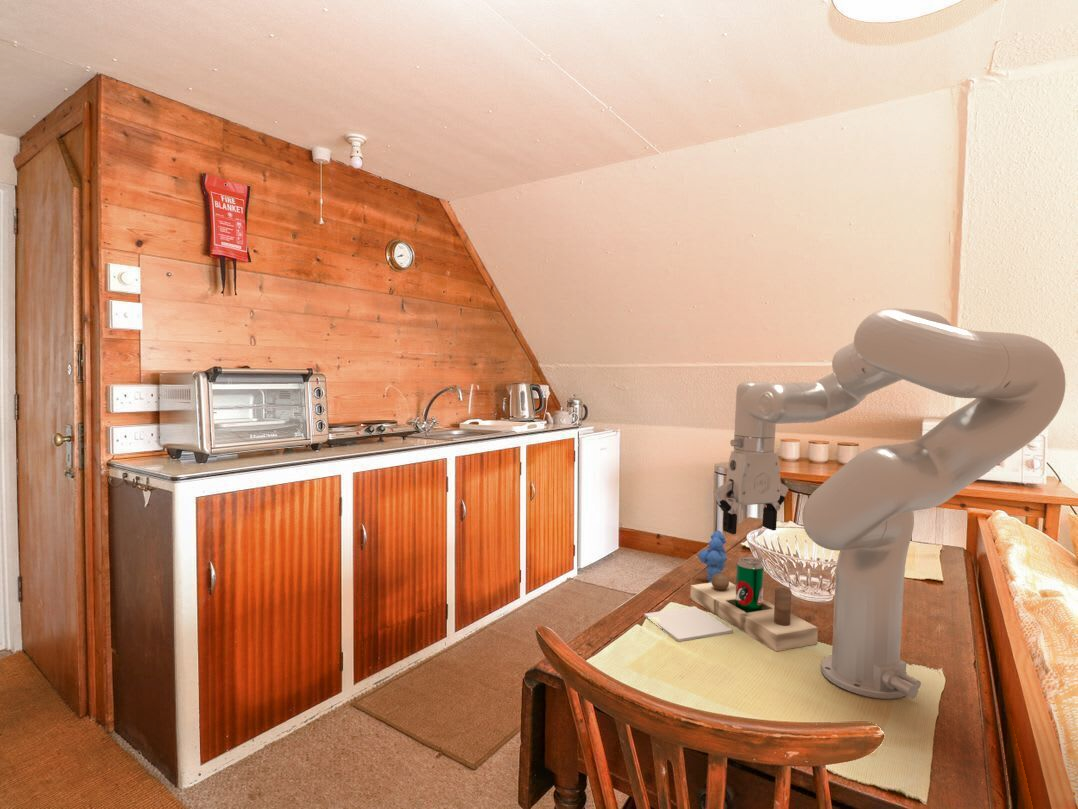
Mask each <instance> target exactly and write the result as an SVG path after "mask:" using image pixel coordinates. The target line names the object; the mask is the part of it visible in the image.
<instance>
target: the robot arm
mask: <svg viewBox="0 0 1078 809" xmlns="http://www.w3.org/2000/svg"><path fill="white" fill-rule="evenodd" d="M831 366H832V373H830V374H829V375H828V374H827V375H826V376H824V377H822V378H819V379H817V380H815V381H812V382H805V381H804V382H803V381H802V382H799V381H797V382H793V381H792V382H790V381H788V382H765V381H743V382H740V383H739V384H738V385H737V387H736V393H735V394H736V395H735V412H734V413H735V415H734V416H735V417H734V432H733V434H734V436H733V439H731V440H730V442H729V443H730V446H731V447H733V450H731V451H730V455H729V459H728V463H727V470H726V478H725V483H723V484H721V485H720V486H718V487H716V488H715V490H713V492H712V493H713V496H714V498H715V501H716V504H717V506H718V507H719V508H720V510H721V511H722V512H723V513H722V514H723V519H722V530H723V532H726V533H728V534H730V535H736V533H737V525H738V523H737V522H738V515H737V513H736V512H737V510H738V508H739V507H740V505H744V506H751V505H752V506H753V505H765V506H763V510H762V527H763V528H766V529H768V530H770V531H777V521H778V520H777V519H778V511H780V510H781V506H782V505H783V503H784V502H785V500H786V499H785V497H786V496H787V493H788V492H789V487H788V486H787V485H785V484H784V483H782V482H781V469H780V468H781V466H780V459H779V454H778V452H777V451H775V445H776V444H775V442H776V428H777V427H776V426H777V425H778V424H781V425H783V424H785V425H786V424H787V425H788V424H803V423H804V424H807V423H808V424H809V423H817V422H818V423H819V422H821V421H825V420H827V419H830V418H832V417H835V416H837V415H840V414H843V413H844V412H847V411H850V410H852V409H854V408H855V407H856V406H858V405H859V404H860V403H861V402H862V401H864V400H865V399H866V397H867V396H868V395H869V394H872V393H874V392H877V391H880V390H881V389H883V388H886V387H888V386H890V385H893V384H895V383H898V382H900V381H903V380H904V381H906V382H909V383H912V384H915V385H918V386H919V387H922V388H925V389H928V390H931V391H934V392H936V393H939V394H942V395H946V396H950V397H954V398H959V399H973V400H972V401H971V402H968V403H967V404H965V405H963V406H962V407H960V408H959V409H957V410H955V411H953V412H952V413H950V414H949V415H947V416H946V417H945V418H943V419H942V420H941V421H940V422H939V423H938V424H936V425H935V426H934V427H932V429H930V430H929V431H928V432H926V433H925V434H924V435H921V436H920V437H918V438H917V439H915V440H913V441H910V442H904V443H895V444H884V445H883V444H882V445H878V446H874V447H873V446H872V447H871V448H868V449H865V450H864V451H862V452H860V453H859V454H857V455H855V456H854V457H852V458H851V459H850V460H849V461H847V462H846V463H845V464H844V465H843V466H842V467H840V468H839V469H838V470H837V471H836V472H834V474H832V475H831V476H830V477H829V478H828V479H826V480H825V481H824V482H823V483H822V484H820V486H818V487H817V488H816V489H815V490H813V492H812V493H811V494H810V495H809V497H808V498H807V500H806V502H805V503H804V506H803V509H802V525H803V529H804V531H805V533H806V535H807V537H808V538H810V539H811V541H812V542H813V543H814V544H816V545H817V546H819V547H821V548H824V549H827V550H830V551H839V553H838V556H837V560H836V568H835V582H834V584H835V585H834V601H833V602H834V603H833V622H832V623H833V625H832V626H833V628H832V649H831V654H829V655H827V656H825V657H824V658H823V659H822V660H821V663H820V670H821V673H822V674H823V676H824V677H825V678H826V679H827V680H828V681H830V682H831V683H832V684H834V685H835V686H837V687H839V688H841V689H842V690H846V691H847V692H850V693H853V694H857V695H860V696H863V697H869V698H874V699H883V700H885V699H887V700H888V699H891V700H893V699H898V698H902V697H905V696H906V697H908V698H911V699H914V698H916V697H917V695H918V693H919V689H920V688H921V685H922V683H921V681H920V680H919V679H918V678H916V677H913V676H910V675H909V674H908V672H907V661H904V660H902V659H901V645H902V644H901V643H902V642H901V640H902V625H903V624H902V623H903V604H904V590H905V589H904V587H905V573H906V562H907V555H908V552H909V547H910V543H911V541H912V536H913V531H914V526H915V514H914V512H915V511H921V510H928V509H932V508H935V507H939V506H941V505H942V504H944V503H946V502H948V501H949V500H951V499H952V498H953V497H955V496H956V495H957V494H958V493H960V492H961V491H963V490H964V489H966V488H967V487H968V486H970V485H971V484H973V483H975V482H976V481H977V480H979V479H980V478H982V477H983V476H984V475H987V473H989V472H990V471H991V470H993V469H994V468H995V467H997V466H998V465H1000V463H1002V462H1004V461H1005V460H1007V459H1008V458H1009V457H1011V456H1013V455H1014V454H1015V453H1017V452H1018V451H1020V450H1021V449H1022V448H1024V447H1025V446H1027V445H1029V443H1031V442H1032V441H1033V440H1035V438H1037V437H1038V436H1039V435H1041V433H1042V432H1044V431H1045V430H1046V428H1047V427H1048V426H1050V424H1051V422H1052V421H1053V420H1054V419H1055V417H1056V416H1057V414H1058V412H1060V409H1061V406H1062V404H1063V401H1064V397H1065V392H1066V374H1065V370H1064V367H1063V364H1062V361H1061V359H1060V358H1059V356H1058V354H1057V353H1056V352H1055V351H1054V349H1052V347H1050V346H1049V345H1048V344H1046V343H1045V342H1043V341H1042V340H1040V339H1038V338H1036V337H1032V336H1029V335H1025V334H1024V335H1023V334H1019V333H1011V332H997V331H996V332H995V331H985V330H984V331H983V330H981V331H980V330H971V329H967V328H962V327H958V326H954V325H952V324H951V323H950V321H949V320H947V318H945V317H944V316H942V315H940V314H938V313H935V312H933V311H928V310H922V309H921V310H919V309H909V308H898V307H893V308H892V307H889V308H883V309H880V310H877V311H874V312H872V313H870V314H869V315H868V316H866V317H865V318H864V319H862V321H861V322H860V323H859V325H858V327H857V328H856V330H855V333H854V337H853V342H851V343H849V344H846V345H845V346H843V347H841V348H839V349H838V350H837V351H836V352H835V354H833V356H832V360H831ZM725 498H726V499H725Z"/></svg>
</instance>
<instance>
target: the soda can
mask: <svg viewBox="0 0 1078 809" xmlns="http://www.w3.org/2000/svg"><path fill="white" fill-rule="evenodd" d="M764 570H765V567H764V565H763V561H762V560H761V559H759V558H756V557H754V556H753V557H752V556H741V557H739V558H738V562H737V563H736V572H735V574H736V577H735V579H736V580H735V585H736V601H735V606H736V607H737V608H739V609H741V610H743V611H744V612H746V613H749V612H755V611H761V610H762V604H763V597H764V574H765V572H764Z"/></svg>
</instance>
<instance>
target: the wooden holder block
mask: <svg viewBox="0 0 1078 809" xmlns="http://www.w3.org/2000/svg"><path fill="white" fill-rule="evenodd" d="M689 598H690V600H691V601H693V602H694V603H696V604H698V605H700V606H701V607H703V608H705V609H706V610H708V611H709V612H711V613H713V614H714V615H716V616H717V617H719V618H721V619H723V620H724V621H726V622H727V623H729V624H730V625H731V626H734V627H736V628H737V629H739V630H740V631H742V632H743V633H745V634H747V635H748V636H750V637H752V638H754V639H755V640H757V641H758V642H760V643H762V645H763V644H764V645H765V646H766V647H768V648H770V649H771V650H773V651H775V652H780V651H786V649H787V650H791V649H795V648H802V647H807V646H813V645H817V644H818V634H819V632H818V630H819V627H818V626H816V625H814V624H812V623H810V622H808V621H806V620H804V619H802V618H800V617H798V616H796V615H795V614H793V613H792V590H790V589H788V588H786V587H785V588H783V587H776V588H775V590H774V604H773V603H771V602H769V601H767V600H765V599H763V604H762V610H761V611H755V612H749V613H746V612H744V611H743V610H741V609H739V608H737V607H736V606H735V601H736V584H734V583H732V582H731V581H730V580H729V578H728V576H727V575H726V574H724V573H722V572H721V573H717V574H715V575H714V576H713V577H712V580H711V583H710V582H706V583H698V584H691V585H690V596H689Z"/></svg>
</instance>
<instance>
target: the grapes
mask: <svg viewBox="0 0 1078 809" xmlns="http://www.w3.org/2000/svg"><path fill="white" fill-rule="evenodd" d="M726 543H727V540H726V538H725V536H724V534H723V532H722V531H720V530H716V531H715V532H713V533H711V535H710V540H709V542H708V543H707V544H708V546H707V548H708V549H702V550H701V551H700V552H699V553H698V554H697V558H698V559H699V561H700V562H701V563H702V564H706V570H705V571H706V574H707V576H706V579H707V581H708V583H711V580H712V577H713V576H714V575H715V574H717V573H722V571H723V570H724V569H725V568H726V564H725V563H726V562H727V561H728V558H727V556H726V553H727V550H726V548H724V545H725V544H726Z"/></svg>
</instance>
